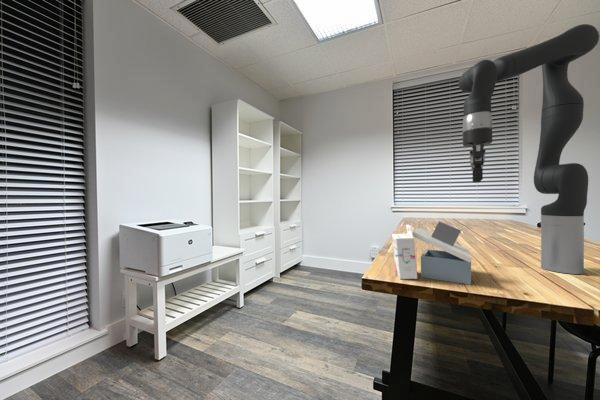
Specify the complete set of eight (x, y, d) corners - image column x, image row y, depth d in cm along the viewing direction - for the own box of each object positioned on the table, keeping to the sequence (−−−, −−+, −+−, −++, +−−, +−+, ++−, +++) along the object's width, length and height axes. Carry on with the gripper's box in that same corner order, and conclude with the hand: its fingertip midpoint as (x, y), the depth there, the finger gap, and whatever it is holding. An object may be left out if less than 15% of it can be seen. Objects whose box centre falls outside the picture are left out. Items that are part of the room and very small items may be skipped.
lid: (417, 230, 83) (425, 214, 82) (466, 252, 76) (476, 234, 75) (411, 235, 71) (421, 216, 69) (469, 262, 63) (481, 241, 62)
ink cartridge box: (394, 270, 77) (390, 224, 78) (411, 270, 76) (407, 223, 77) (399, 279, 69) (394, 227, 69) (418, 279, 68) (413, 226, 68)
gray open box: (426, 267, 81) (426, 249, 81) (470, 273, 75) (470, 253, 75) (420, 276, 71) (420, 256, 71) (471, 284, 65) (470, 262, 65)
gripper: (494, 121, 69) (494, 179, 69) (490, 132, 80) (490, 182, 81) (462, 126, 73) (462, 180, 73) (462, 136, 85) (462, 183, 85)
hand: (477, 181), depth 77 cm, fingers open, 8 cm apart
